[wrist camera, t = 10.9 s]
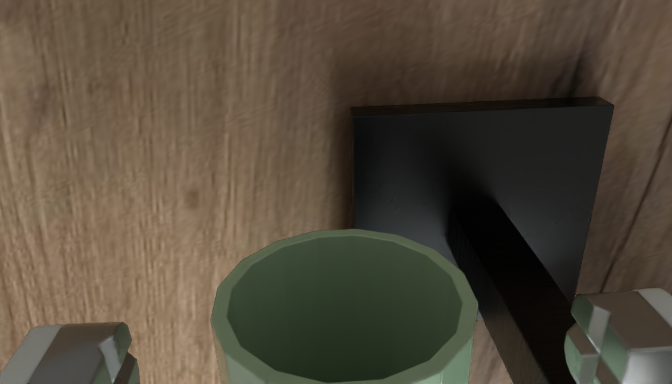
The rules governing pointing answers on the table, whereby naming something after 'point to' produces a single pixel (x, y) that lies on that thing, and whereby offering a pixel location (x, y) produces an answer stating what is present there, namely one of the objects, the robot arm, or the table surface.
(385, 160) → the mug stand
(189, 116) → the table surface
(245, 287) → the green mug
